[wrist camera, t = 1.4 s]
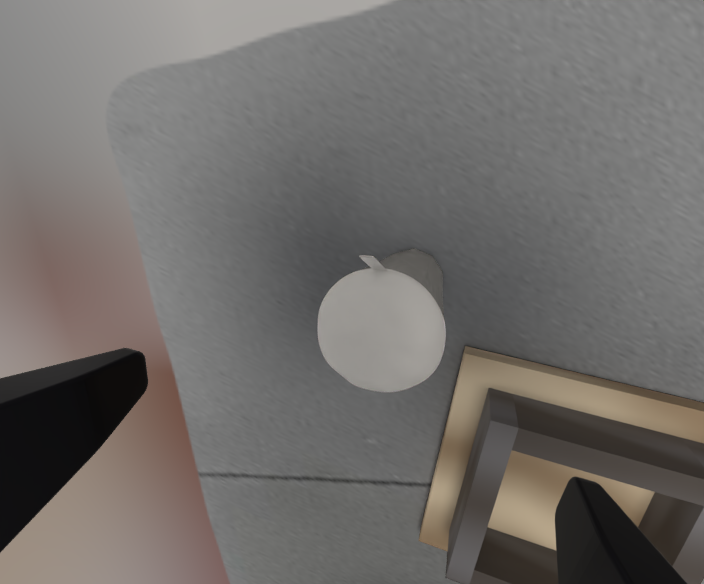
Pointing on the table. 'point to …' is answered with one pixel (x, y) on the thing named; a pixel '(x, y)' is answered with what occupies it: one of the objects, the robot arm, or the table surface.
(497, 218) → the table surface
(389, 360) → the milkshake
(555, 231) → the table surface
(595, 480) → the dock
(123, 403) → the robot arm
